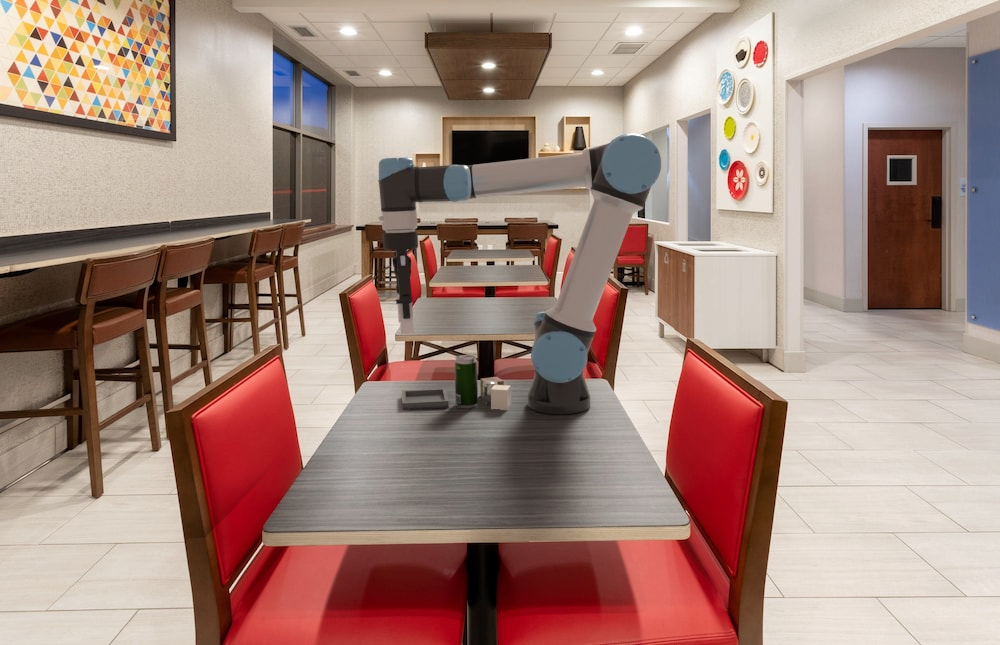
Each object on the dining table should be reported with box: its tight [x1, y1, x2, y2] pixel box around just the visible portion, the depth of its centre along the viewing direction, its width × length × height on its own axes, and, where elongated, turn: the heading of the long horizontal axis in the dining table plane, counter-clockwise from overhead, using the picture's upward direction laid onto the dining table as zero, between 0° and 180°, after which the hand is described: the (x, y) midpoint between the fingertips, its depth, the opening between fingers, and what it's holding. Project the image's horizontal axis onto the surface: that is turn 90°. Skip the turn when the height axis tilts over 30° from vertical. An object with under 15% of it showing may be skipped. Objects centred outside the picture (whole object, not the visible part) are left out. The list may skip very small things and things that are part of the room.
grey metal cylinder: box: [482, 381, 498, 405], centre depth 173 cm, size 4×4×5 cm
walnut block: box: [479, 376, 505, 398], centre depth 178 cm, size 4×4×4 cm
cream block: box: [490, 384, 512, 411], centre depth 169 cm, size 4×4×5 cm
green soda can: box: [454, 354, 479, 409], centre depth 171 cm, size 5×5×12 cm
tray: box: [401, 387, 450, 411], centre depth 175 cm, size 11×11×2 cm
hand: (406, 327), depth 156 cm, fingers open, 13 cm apart
